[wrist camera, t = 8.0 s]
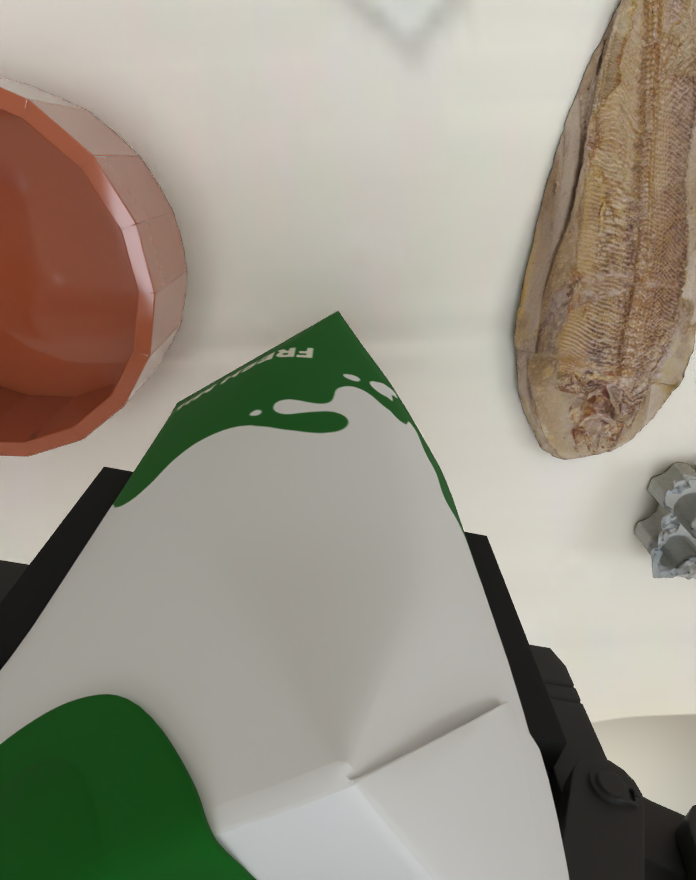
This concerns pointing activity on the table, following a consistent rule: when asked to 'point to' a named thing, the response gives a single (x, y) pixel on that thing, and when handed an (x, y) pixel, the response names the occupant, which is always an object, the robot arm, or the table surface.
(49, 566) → the robot arm
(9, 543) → the table surface
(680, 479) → the egg carton
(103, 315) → the pot
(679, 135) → the fish fossil
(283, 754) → the milk carton
